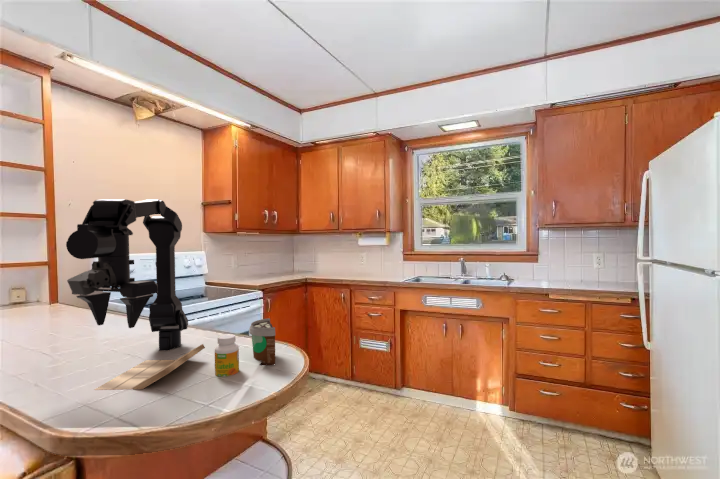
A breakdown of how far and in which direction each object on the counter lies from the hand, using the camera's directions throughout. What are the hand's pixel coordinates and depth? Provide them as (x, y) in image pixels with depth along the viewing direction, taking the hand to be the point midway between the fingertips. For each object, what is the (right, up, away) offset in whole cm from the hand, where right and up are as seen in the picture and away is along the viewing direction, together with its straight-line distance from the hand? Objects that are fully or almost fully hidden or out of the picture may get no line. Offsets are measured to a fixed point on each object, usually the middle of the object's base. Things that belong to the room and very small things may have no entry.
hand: (115, 326), depth 78 cm
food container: (+28, -14, +17) cm, 35 cm away
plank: (+10, -11, +6) cm, 16 cm away
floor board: (+2, -14, +6) cm, 15 cm away
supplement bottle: (+23, -14, +6) cm, 27 cm away
